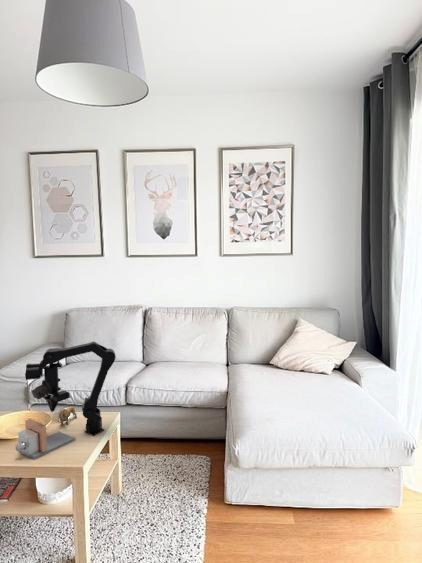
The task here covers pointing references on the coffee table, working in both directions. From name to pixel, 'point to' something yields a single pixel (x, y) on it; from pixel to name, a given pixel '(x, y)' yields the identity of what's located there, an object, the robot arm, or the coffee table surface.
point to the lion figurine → (66, 414)
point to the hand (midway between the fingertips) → (52, 411)
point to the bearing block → (29, 441)
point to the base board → (53, 443)
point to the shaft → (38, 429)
